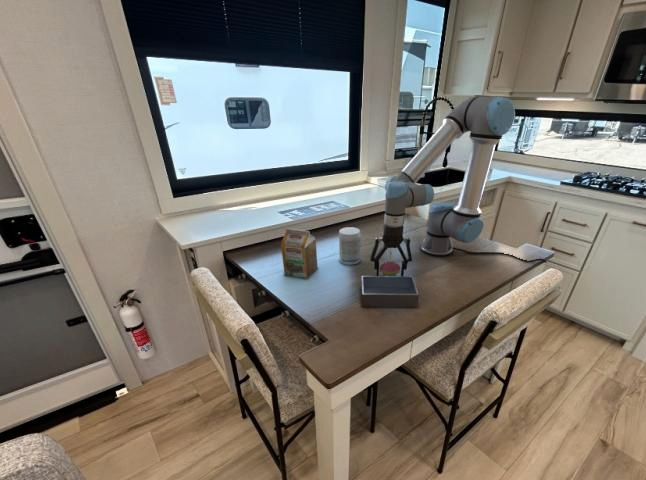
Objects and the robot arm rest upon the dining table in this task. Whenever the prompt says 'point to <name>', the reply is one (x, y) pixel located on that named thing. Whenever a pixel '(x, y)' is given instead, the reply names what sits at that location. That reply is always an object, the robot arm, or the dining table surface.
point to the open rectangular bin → (389, 291)
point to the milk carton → (299, 253)
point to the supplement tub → (349, 245)
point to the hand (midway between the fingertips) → (389, 276)
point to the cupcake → (390, 268)
